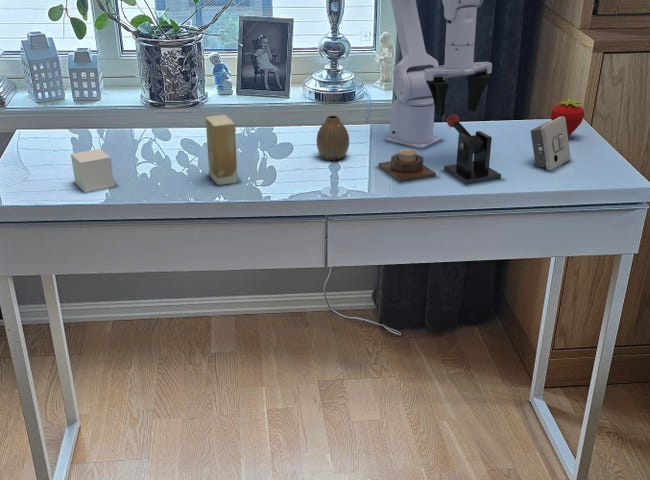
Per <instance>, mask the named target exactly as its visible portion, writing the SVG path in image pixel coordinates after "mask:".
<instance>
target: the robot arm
mask: <svg viewBox="0 0 650 480" xmlns="http://www.w3.org/2000/svg"><path fill="white" fill-rule="evenodd" d="M483 2H484V0H441V3H442V5H443V16H444V19H445V20H446V21H445V22H446V26H445V44H444V64H442V65H439V62H438V60H437V59H436V58H434V57H433V56H431V55H430V54H428V53H427V50H426V46H425V41H424V36H423V32H422V26H421V21H420V17H419V12H418V6H417V1H416V0H390V4H391V7H392V8H391V9H392V13H393V18H394V22H395V23H394V24H395V27H396V31H397V32H396V33H397V38H398V42H399V47H400V53H401V57H402V59H401V60H400V61H398V63H397V64H396V65H395V66H394V69H393V71H392V72H393V73H392V74H393V91H394V94H395V96H396V97H395V98H396V99H395V100H394V101H393V102H392V104H391V105H390V110H389V124H388V125H389V128H388V131H389V132H388V137H386V140H387V141H388V142H392V143H395V144H400V145H404V146H407V147H413V148H417V149H424V148H427V147H428V146H431V145H433V144H435V143H437V142H440V141H441V137H439V136H434V126H435V125H434V124H435V114H436V115H438V116H439V117H444V116H445V111H446V98H447V93H448V89H449V86H450V83H448V82H446V80H445V79H448V78H449V79H450V78H455V77H456V78H457V77H464V76H465V77H466V79H467V89H468V93H467V95H468V96H467V110H469V111H470V112H476V111H477V110H478V106H479V103H480V100H481V98H482V95H483V92H484V91H485V88H486V87H487V86H488V84H489V82H490V80H491V79H490V78H491V76H490V75H489V74H492V70H493V63H492V62H489V61H477V62H475V61H474V59H475V46H476V45H475V44H476V29H477V28H476V27H477V13H478V8H480V7H481V6H482V4H483Z"/></svg>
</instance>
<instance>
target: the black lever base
mask: <svg viewBox="0 0 650 480" xmlns="http://www.w3.org/2000/svg"><path fill="white" fill-rule="evenodd" d="M475 135H478V137H479V138H480V139H481V140H482V141H483V142H484V143H483V147H482V151H481V153H475V154H473V150H474V139H472V138H470V137H468V136H467V135H465V134H460V133H458V137H457V138H458V139H457V153H456V163H453V164H445V165H443V171H444V172H445V173H447V174H448V175H450V176H451V177H453V178H454V179H456V180H458V181H459V182H461V183H462V184H464V185H466V186H469V185H475V184H481V183H486V182H492V181H497V180H498V181H499V180H501V179H502V173H500V172H498V171H496V170H495V169H493V168H491V167H490V160H491V149H492V140H493V139H492V138H493V137H492V136H491V135H488V134H487V133H485V132H483V131H481V130H477V131H475Z"/></svg>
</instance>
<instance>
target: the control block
mask: <svg viewBox="0 0 650 480" xmlns="http://www.w3.org/2000/svg"><path fill="white" fill-rule="evenodd" d="M398 154H399V153H396V154H393V155H391V157H390V161H383V162H378V168H379V169H381V170H382V171H383V172H384V173H386V174H388V175H389V176H390V177H392V178H393V179H395V180H396V181H398V182H399V183H406V182H407V183H408V182H413V181H418V180H424V179H425V180H426V179H431V178H436V174H437V172H435V171H434V170H433V169H431V168H429V167H427V166H426V165H424V157H423V156H421V155H420V154H417V153H416V161H413V162H403V161H399V160H398Z"/></svg>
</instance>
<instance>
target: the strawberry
mask: <svg viewBox="0 0 650 480" xmlns="http://www.w3.org/2000/svg"><path fill="white" fill-rule="evenodd" d="M569 93H570V96H571V99H570V98H568V99H567V100H566V101H558V104H556V105H555V106H554V107H553V108H551V111H550V115H549V116H550V121H553V120H554V119H556V118H558V117H565V119H566V126H567V134H568V138H569V137H570V135H572V134H573V133H574V132H575V131H576V130H577V129H578V128H579V126H580V125H581V124H582V122H583V120H584V117H585V109H584V108H583V106H581V105H582V104H583V102H578V101H575V100H574V98H573V95H572V92H569Z"/></svg>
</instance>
